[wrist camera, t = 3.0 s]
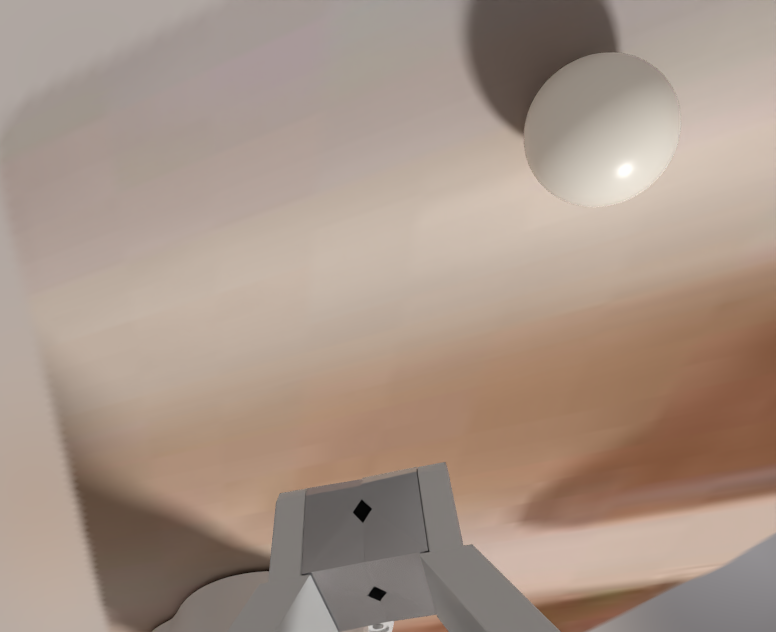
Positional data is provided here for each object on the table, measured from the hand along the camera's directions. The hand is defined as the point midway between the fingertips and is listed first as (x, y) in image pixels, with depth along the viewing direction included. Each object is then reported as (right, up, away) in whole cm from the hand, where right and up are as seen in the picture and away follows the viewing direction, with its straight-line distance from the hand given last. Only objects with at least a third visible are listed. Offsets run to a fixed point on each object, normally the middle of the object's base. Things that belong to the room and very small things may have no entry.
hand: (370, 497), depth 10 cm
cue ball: (+8, +10, +11) cm, 17 cm away
